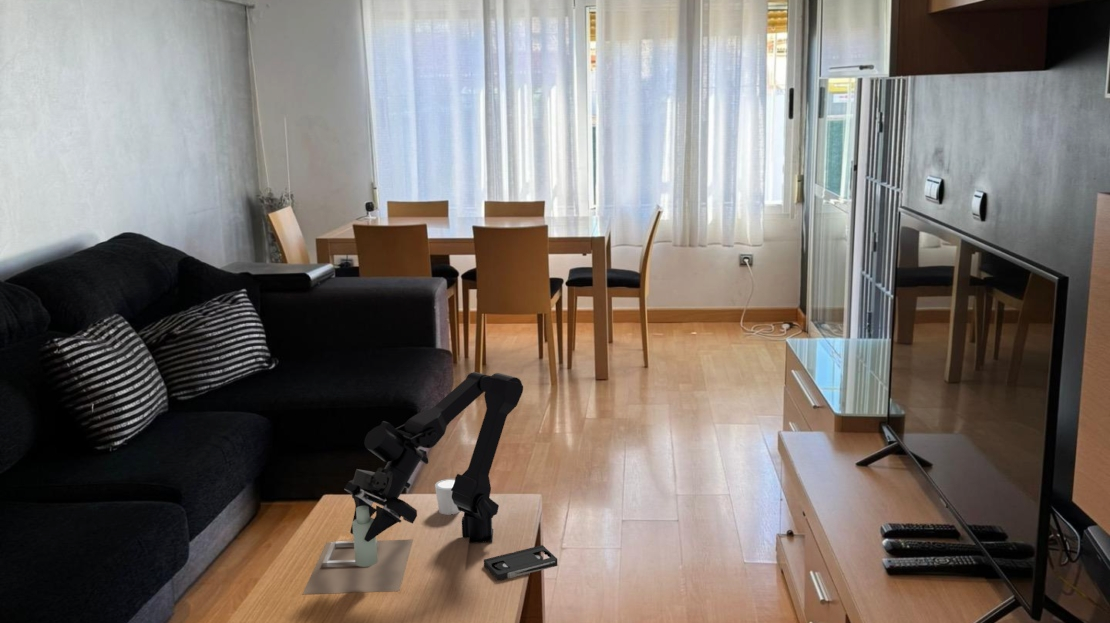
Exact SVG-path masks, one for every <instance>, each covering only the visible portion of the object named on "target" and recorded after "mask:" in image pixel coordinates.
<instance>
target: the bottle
mask: <svg viewBox="0 0 1110 623" xmlns="http://www.w3.org/2000/svg"><path fill="white" fill-rule="evenodd" d="M356 515H357V519H355V520H354V521H353V520H352V522H351V526H352V527H353V534H352V537H353V541H354V551H355V563H356V565H357V566H361V567H367V566H372V565H374V564H376V563H377V561H378V557H377V544H376V540H377V536H376V537H374V538H373V539H372V540H370V541H369V542H367V541H365V540H364V538H365V536H366V534H367V532H368V530H369V528H370V526H371V524H372V522H373V520H374V517H372V516H371V517H369V507H368V506H359V507H357V508H356Z"/></svg>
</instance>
